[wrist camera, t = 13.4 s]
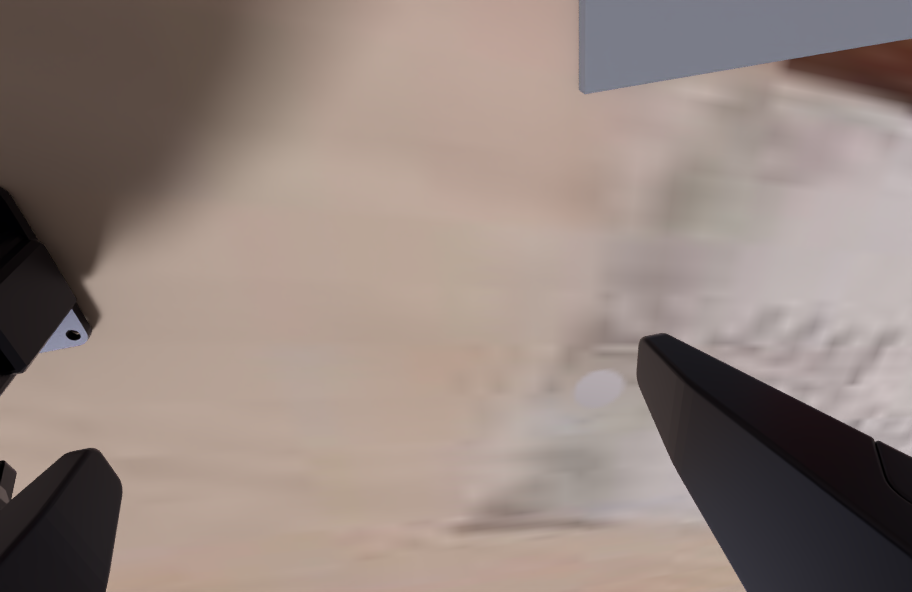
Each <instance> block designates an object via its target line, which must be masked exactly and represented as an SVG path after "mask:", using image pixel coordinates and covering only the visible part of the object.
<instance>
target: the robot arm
mask: <svg viewBox="0 0 912 592" xmlns="http://www.w3.org/2000/svg"><path fill="white" fill-rule="evenodd" d="M71 330H75V331H78V332H79V333H80V334H75V333H73V332H72V331H71ZM91 333H92V329H91V327H90V325H89V323H88V322H87V320H86V318H85V317H84V315H83V313H82V312H81V310H80V308H79V307H78V305H77V303H76V297H75V296H74V294H73V292H72V291H71V289H70V288H69V286H68V284H67V283H66V281H65V279H64V278H63V276H62V274H61V273H60V271H59V269H58V268H57V266H56V264H55V263H54V261H53V259H52V258H51V256H50V254H49V253H48V251H47V249H46V248H45V246H44V245H43V244H42V243H41V242H40V241H38V239H37V238H36V236H35V234H34V233H33V231H32V229H31V228H30V226H29V224H28V223H27V221H26V220H25V218H24V216H23V215H22V213H21V211H20V210H19V208H18V206H17V205H16V203H15V201H14V200H13V198H12V197H11V195H10V194H9V193H8V192H7V191H6V190H4V189H3V188H1V187H0V396H1V395H2V393H3V392H4V391H5V389H6V388H7V387H8V385H9V384H10V383H11V381H12V380H13V379H14V378H15V376H16V375H17V374H20V373H23V372H25V371H26V370H27V369H28V367H29V366H30V364H31V363H32V362H33V360H34V359H35V358H36V356H37V355H38V354H39V353H42V352H47V351H53V350H58V349H63V348H69V347H74V346H79V345H82V344H84V343H85V342H86V341H87V340H88V339H89V337H90V335H91ZM637 381H638V385H639V388H640V390H641V392H642V395H643V397H644V399H645V402H646V404H647V406H648V408H649V411H650V413H651V415H652V418H653V420H654V422H655V424H656V427H657V429H658V431H659V434H660V436H661V438H662V440H663V443H664V445H665V447H666V450H667V452H668V454H669V456H670V458H671V460H672V463H673V465H674V466H675V468H676V470H677V472H678V474H679V476H680V477H681V479H682V481H683V483H684V484H685V486H686V488H687V489H688V491H689V493H690V495H691V496H692V498H693V500H694V502H695V503H696V505H697V507H698V508H699V510H700V512H701V514H702V515H703V517H704V519H705V521H706V522H707V524H708V526H709V527H710V529H711V531H712V533H713V534H714V536H715V538H716V540H717V541H718V543H719V545H720V546H721V548H722V550H723V552H724V553H725V555H726V557H727V559H728V560H729V562H730V564H731V565H732V567H733V569H734V571H735V572H736V574H737V576H738V578H739V579H740V581H741V583H742V584H743V586H744V588H745V590H746V591H747V592H912V457H911V456H908V455H906V454H904V453H902V452H900V451H898V450H896V449H894V448H893V447H891V446H889V445H887V444H885V443H883V442H881V441H876V442H875V441H874V439H873V438H872V437H870V436H868V435H866V434H864V433H862V432H860V431H858V430H856V429H855V428H853V427H851V426H849V425H847V424H845V423H843V422H841V421H839V420H837V419H835V418H833V417H831V416H829V415H827V414H825V413H823V412H821V411H819V410H817V409H815V408H813V407H811V406H809V405H807V404H805V403H803V402H801V401H799V400H797V399H795V398H793V397H791V396H789V395H787V394H785V393H783V392H781V391H779V390H777V389H775V388H773V387H771V386H769V385H767V384H765V383H763V382H761V381H759V380H757V379H755V378H754V377H752V376H750V375H748V374H746V373H744V372H742V371H740V370H738V369H736V368H734V367H732V366H730V365H728V364H726V363H724V362H722V361H720V360H718V359H716V358H714V357H712V356H710V355H708V354H706V353H704V352H702V351H700V350H698V349H696V348H694V347H692V346H690V345H688V344H686V343H684V342H682V341H680V340H678V339H676V338H674V337H672V336H670V335H668V334H665V333H659V334H654V335H649V336H645V337H643V338H641V339H640V342H639V347H638V360H637ZM16 474H17V473H16V471H15V470H14V469H13V468H12V467H11V466H10V465H9V464H8V463H6V462H5V461H3V460H2V461H0V592H106V588H107V583H108V578H109V573H110V567H111V561H112V555H113V549H114V543H115V537H116V530H117V524H118V518H119V512H120V506H121V500H122V484H121V481H120V479H119V477H118V476H117V474H116V473H115V472H114V470H113V469H112V467H111V466H110V464H109V463H108V462H107V460H106V459H105V457H104V456H103V455H102V453H101V452H100V451H99V450H97V449H95V448H87V449H82V450H77V451H72V452H69V453H66V454H64V455H63V456H62V457H61V458H59V459H58V460H57V461H56V462H55V463H54V464H52V465H51V466H50V467H49V468H48V469H47V470H46V471H44V472H43V473H42V474H41V475H40V476H39V477H37V478H36V479H35V480H34V481H33V482H32V483H30V484H29V485H28V486H27V487H26V488H25V489H23V490H22V491H21V492H20V493H19V494H18V495H17V496H15V497H14V498H13V499H12V500H11V498H12V493H13V488H14V483H15V479H16Z"/></svg>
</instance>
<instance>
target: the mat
mask: <svg viewBox="0 0 912 592" xmlns="http://www.w3.org/2000/svg"><path fill="white" fill-rule="evenodd" d="M910 38H912V0H579V90H580V91H581V92H583V93H584V94H588V93H594V92H600V91H606V90H612V89H618V88H624V87H629V86H635V85H641V84H647V83H653V82H659V81H664V80H670V79H676V78H682V77H688V76H694V75H700V74H705V73H711V72H717V71H723V70H729V69H735V68H741V67H746V66H752V65H758V64H764V63H770V62H776V61H782V60H787V59H793V58H799V57H805V56H811V55H817V54H823V53H828V52H834V51H840V50H846V49H852V48H858V47H863V46H869V45H875V44H881V43H887V42H893V41H899V40H904V39H910Z"/></svg>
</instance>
